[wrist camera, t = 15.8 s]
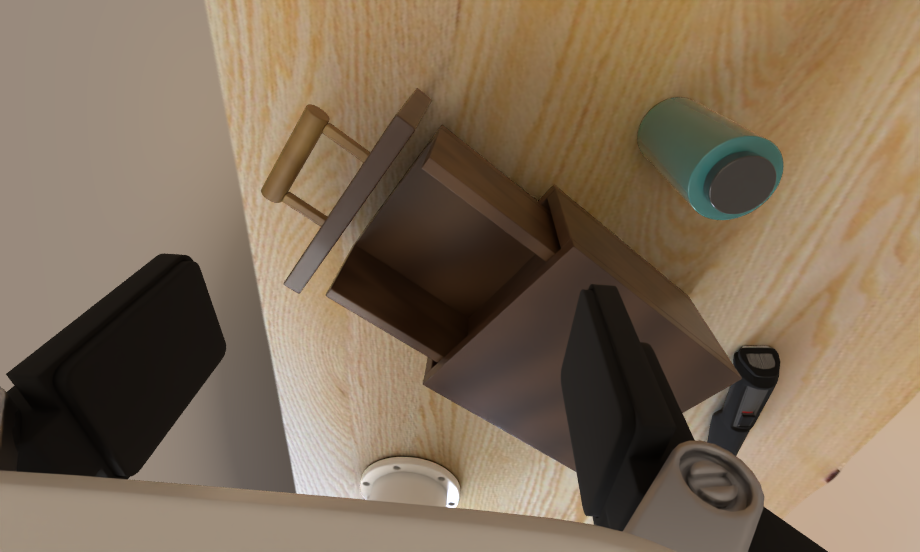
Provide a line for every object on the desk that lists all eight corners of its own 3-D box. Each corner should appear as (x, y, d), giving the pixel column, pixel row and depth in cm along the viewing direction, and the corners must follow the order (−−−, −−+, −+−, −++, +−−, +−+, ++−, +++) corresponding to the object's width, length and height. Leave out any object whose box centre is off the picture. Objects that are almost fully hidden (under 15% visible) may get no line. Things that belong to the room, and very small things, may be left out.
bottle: (657, 175, 31) (718, 242, 22) (624, 128, 29) (677, 182, 21) (717, 134, 29) (808, 191, 21) (686, 81, 27) (771, 120, 19)
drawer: (270, 200, 33) (219, 247, 27) (360, 40, 26) (320, 54, 20) (465, 325, 38) (460, 388, 32) (577, 218, 32) (598, 271, 26)
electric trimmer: (691, 448, 48) (703, 475, 45) (733, 345, 39) (750, 371, 36) (727, 449, 47) (741, 476, 45) (776, 345, 39) (797, 371, 36)
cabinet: (436, 306, 39) (422, 384, 31) (553, 184, 32) (574, 246, 24) (562, 387, 43) (578, 473, 35) (689, 296, 36) (742, 378, 29)
